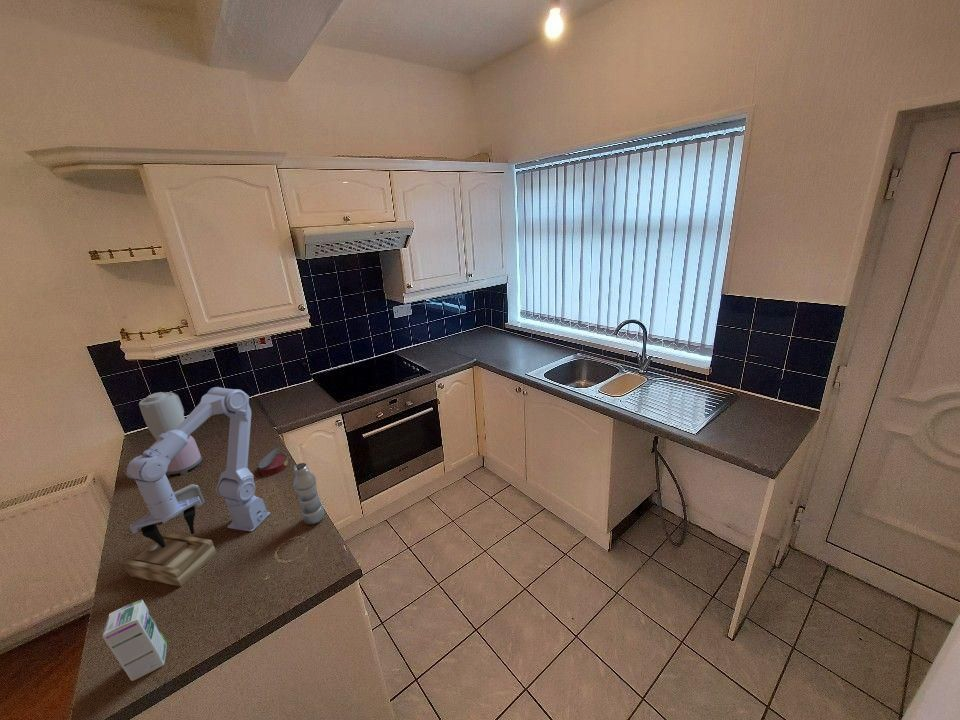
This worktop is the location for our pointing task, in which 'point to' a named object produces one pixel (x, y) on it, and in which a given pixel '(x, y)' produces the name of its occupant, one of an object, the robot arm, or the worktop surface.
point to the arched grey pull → (188, 495)
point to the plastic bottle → (307, 494)
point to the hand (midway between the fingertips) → (178, 538)
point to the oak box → (175, 562)
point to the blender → (169, 428)
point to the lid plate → (162, 552)
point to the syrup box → (135, 640)
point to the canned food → (273, 463)
